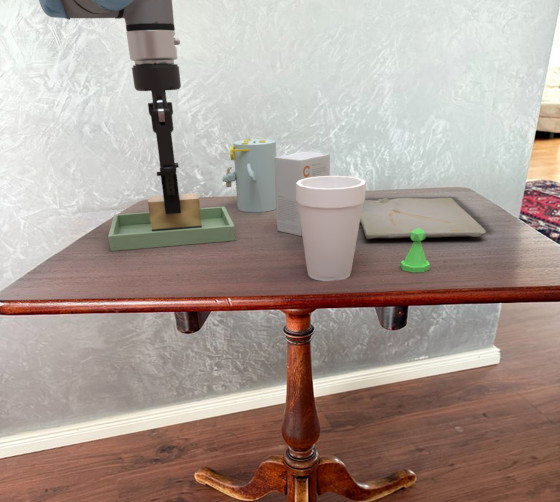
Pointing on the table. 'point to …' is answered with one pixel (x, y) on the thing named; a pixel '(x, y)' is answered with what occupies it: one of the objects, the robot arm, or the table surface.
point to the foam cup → (330, 223)
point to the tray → (169, 231)
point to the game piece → (416, 254)
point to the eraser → (175, 221)
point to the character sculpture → (253, 174)
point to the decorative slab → (417, 218)
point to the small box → (286, 178)
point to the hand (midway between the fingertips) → (172, 209)
